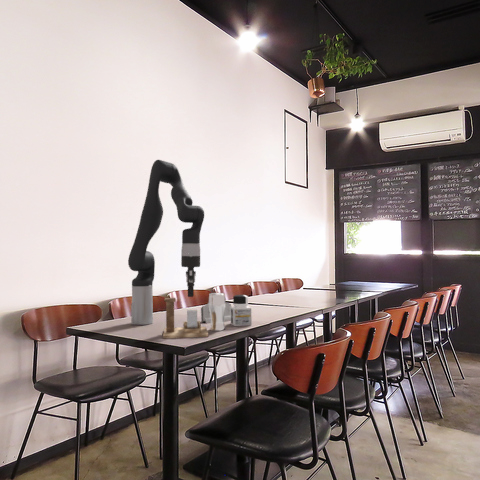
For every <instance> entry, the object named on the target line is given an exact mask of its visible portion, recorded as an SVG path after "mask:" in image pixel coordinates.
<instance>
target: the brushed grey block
mask: <svg viewBox="0 0 480 480" xmlns="http://www.w3.org/2000/svg"><path fill="white" fill-rule="evenodd" d="M186 318H187V319H186V321H187V329H197V321H198V310H197V309H187V310H186Z"/></svg>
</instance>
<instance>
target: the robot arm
mask: <svg viewBox="0 0 480 480" xmlns="http://www.w3.org/2000/svg"><path fill="white" fill-rule="evenodd" d="M161 183H165V184H169V185H170V186H171V187H172V188H171V190H170V197H171V199H172V201H173V203H174V204H175V206H176V207H175V208H176V210H177V218H178V220H179V221H180V222H182V223H185V224H186V223H187V224H188V223H189V224H190V223H191V224H192V225H191V227H189V228H185V229H183V230H182V232H181V235H182V236H181V237H182V238H181V243H182V244H181V251H180V252H181V261H180V263H181V264H180V265H181V267H182V268H187V270H186V271H185V277H186V283H187V284H186V286H187V297H188V298H193V297H194V289H195V288H194V287H195V283H196V277H197V275H196V273H197V272H196V271H195V270H194V269H195V268H199V267H201V246H200V245H201V244H200V243H201V241H200V240H201V239H200V237H201V236H200V235H201V230H202V226H203V223H204V219H205V210H204V209H203V207H202V206H200V205H194V203H193V199H192V197H191V195H190V194H189V192H188V190H187V189H186V187H185V185H184V182H183V179H182V176H181V174H180V171H179V168H178V166H177V165H176V164H175V163H171V162H168V161H165V160H162V159H156V160H155V161H154V162H153V163H152V166H151V169H150V175H149V180H148V187H147V191H146V192H147V193H146V197H145V199H144V204H143V208H142V212H141V215H140V220H139V225H138V228H137V231H136V235H135V238H134V241H133V244H132V246H131V249H130V252H129V255H128V267H129V269H130V270H131V271H133V272H137V275H136V276H135V277H134V278H133V279H132V280H131V308H130V311H131V314H130V315H131V316H130V317H131V325H134V326H137V325H138V326H142V325H143V326H145V325H152V324H153V323H154V322H153V321H154V317H153V316H154V315H153V313H154V312H153V311H154V310H153V309H154V308H153V303H154V302H153V298H154V297H153V292H154V291H153V290H154V289H153V284H154V283H153V282H154V279H155V267H156V266H155V264H156V263H155V261H156V260H155V257H154V254H153V253H152V252H151V251H148V250H147V249H148V246H149V244H150V242H151V240H152V239H153V237H155V235H156V233H157V232H158V230H159V228H160V227H161V224H162V219H163V217H164V209H163V205H162V200H161V197H160V193H159V192H160V184H161Z"/></svg>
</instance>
